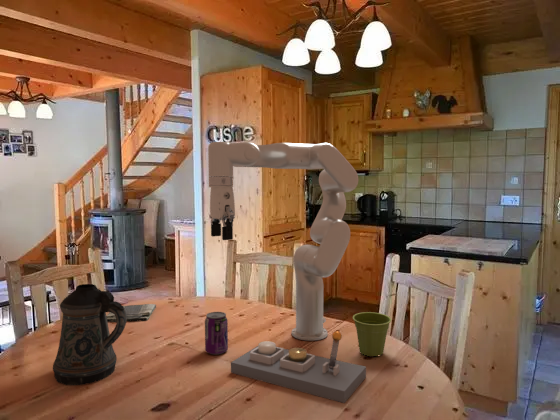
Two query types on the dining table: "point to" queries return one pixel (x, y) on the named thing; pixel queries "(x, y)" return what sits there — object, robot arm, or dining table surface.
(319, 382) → the switch panel
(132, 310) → the dish towel
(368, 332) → the plant pot
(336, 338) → the lever
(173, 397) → the dining table surface
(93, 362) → the beer stein
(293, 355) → the brass button
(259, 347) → the ivory button
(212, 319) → the beverage can
